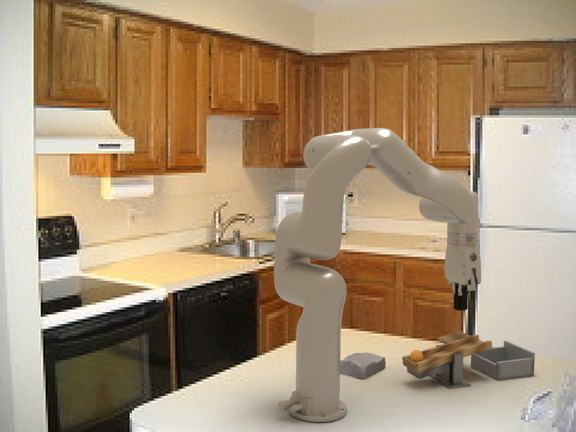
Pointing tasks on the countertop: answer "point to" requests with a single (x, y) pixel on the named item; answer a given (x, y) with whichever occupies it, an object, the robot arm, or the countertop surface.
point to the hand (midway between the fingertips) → (460, 309)
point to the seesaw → (445, 353)
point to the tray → (505, 362)
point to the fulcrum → (452, 373)
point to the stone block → (362, 365)
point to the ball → (416, 356)
